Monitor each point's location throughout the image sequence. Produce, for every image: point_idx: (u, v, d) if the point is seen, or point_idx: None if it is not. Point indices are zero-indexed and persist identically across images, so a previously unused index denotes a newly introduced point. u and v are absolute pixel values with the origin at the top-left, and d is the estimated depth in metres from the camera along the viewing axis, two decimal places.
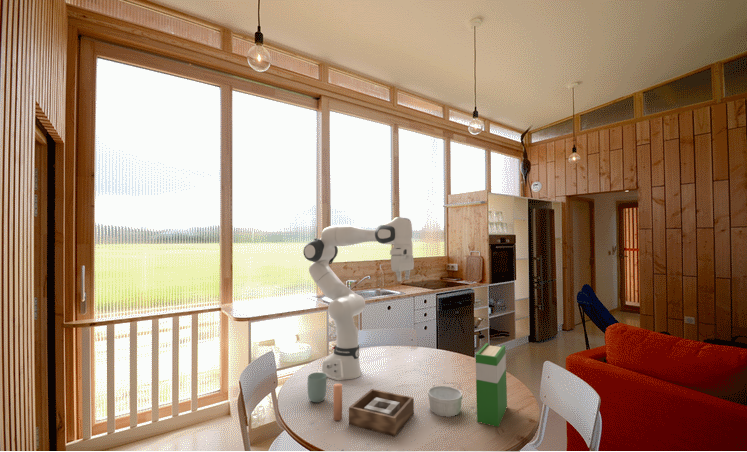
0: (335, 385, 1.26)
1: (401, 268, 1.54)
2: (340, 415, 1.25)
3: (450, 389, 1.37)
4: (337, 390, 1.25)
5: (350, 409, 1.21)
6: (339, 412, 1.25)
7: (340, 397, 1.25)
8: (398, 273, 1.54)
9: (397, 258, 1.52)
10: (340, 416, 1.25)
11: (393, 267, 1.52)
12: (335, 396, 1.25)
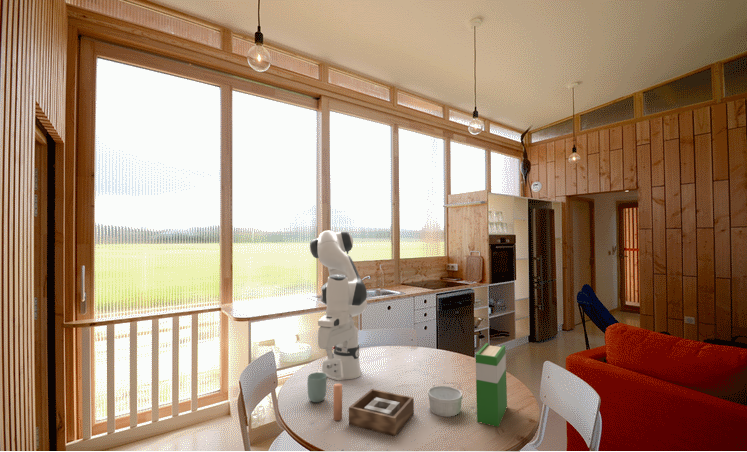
0: (335, 385, 1.26)
1: (331, 344, 1.21)
2: (340, 415, 1.25)
3: (450, 389, 1.37)
4: (337, 389, 1.25)
5: (350, 409, 1.21)
6: (339, 412, 1.25)
7: (340, 397, 1.25)
8: (328, 349, 1.22)
9: (326, 332, 1.19)
10: (340, 416, 1.25)
11: (320, 343, 1.19)
12: (335, 396, 1.25)
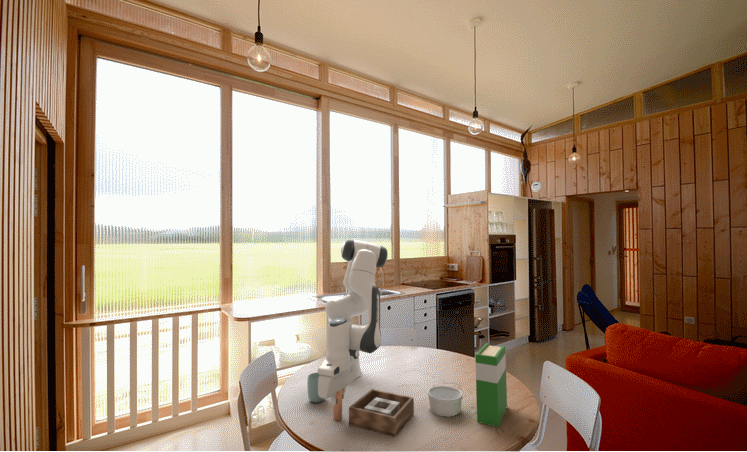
0: None
1: (331, 392, 1.20)
2: (340, 415, 1.25)
3: (450, 389, 1.37)
4: None
5: (350, 409, 1.21)
6: (339, 412, 1.25)
7: (340, 397, 1.25)
8: (332, 395, 1.23)
9: (326, 381, 1.18)
10: (340, 416, 1.25)
11: (320, 393, 1.18)
12: (335, 396, 1.25)
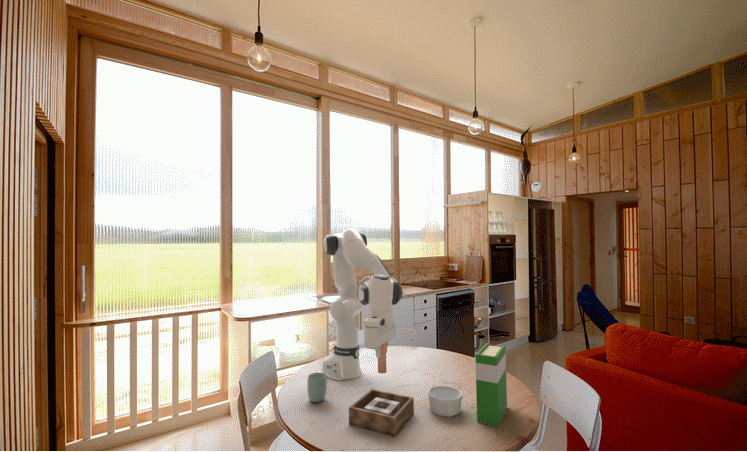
0: None
1: (377, 343, 1.21)
2: (385, 368, 1.26)
3: (450, 389, 1.37)
4: None
5: (350, 409, 1.21)
6: (384, 365, 1.25)
7: (384, 350, 1.26)
8: (377, 348, 1.24)
9: (372, 332, 1.19)
10: (385, 369, 1.25)
11: (367, 343, 1.19)
12: (380, 349, 1.26)
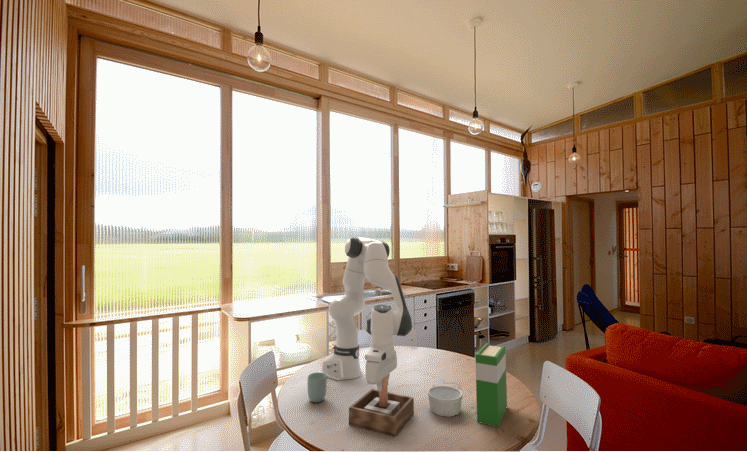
0: None
1: (379, 378, 1.20)
2: (386, 401, 1.25)
3: (450, 389, 1.37)
4: None
5: (350, 409, 1.21)
6: (385, 398, 1.25)
7: (386, 383, 1.25)
8: (378, 381, 1.23)
9: (374, 367, 1.18)
10: (386, 402, 1.25)
11: (368, 379, 1.18)
12: None
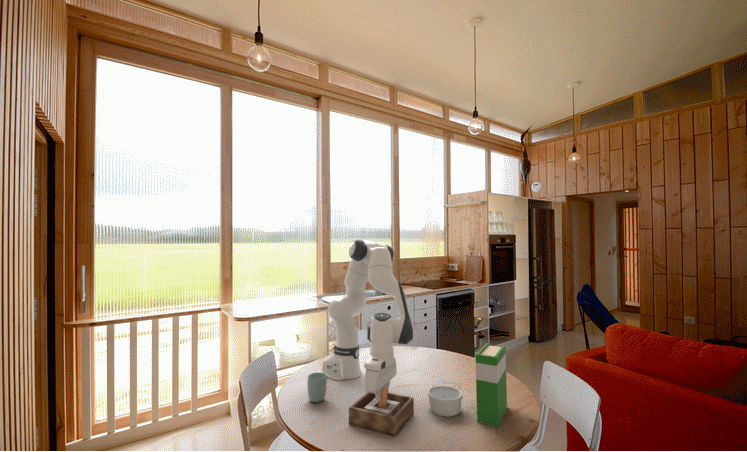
0: None
1: (378, 387, 1.20)
2: None
3: (450, 389, 1.37)
4: (383, 387, 1.25)
5: (350, 409, 1.21)
6: None
7: (385, 395, 1.25)
8: (376, 391, 1.22)
9: (373, 376, 1.18)
10: None
11: (367, 387, 1.18)
12: None
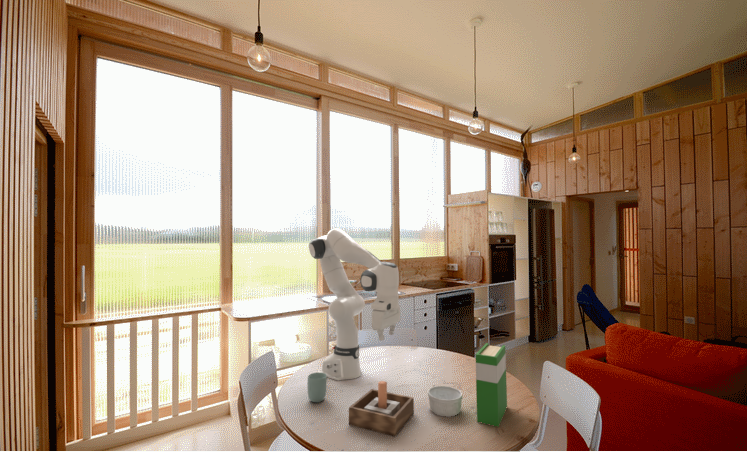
0: (380, 383, 1.26)
1: (383, 326, 1.30)
2: None
3: (450, 389, 1.37)
4: (383, 387, 1.25)
5: (350, 409, 1.21)
6: None
7: (385, 395, 1.25)
8: (380, 331, 1.31)
9: (379, 315, 1.28)
10: None
11: (374, 325, 1.28)
12: (380, 394, 1.25)
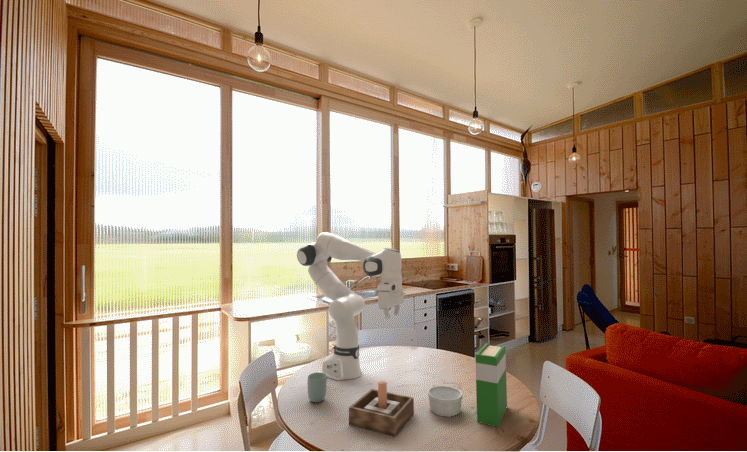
0: (379, 383, 1.26)
1: (389, 305, 1.42)
2: None
3: (450, 389, 1.37)
4: (382, 387, 1.25)
5: (350, 409, 1.21)
6: None
7: (385, 395, 1.25)
8: (386, 310, 1.43)
9: (385, 295, 1.40)
10: None
11: (380, 304, 1.40)
12: (380, 394, 1.25)
